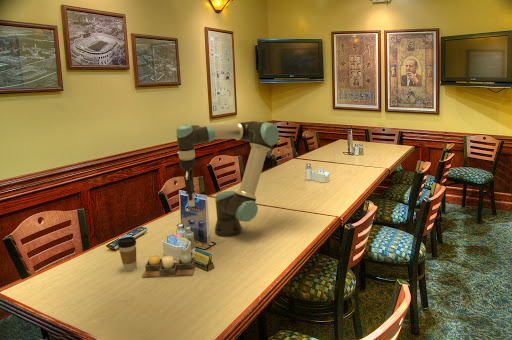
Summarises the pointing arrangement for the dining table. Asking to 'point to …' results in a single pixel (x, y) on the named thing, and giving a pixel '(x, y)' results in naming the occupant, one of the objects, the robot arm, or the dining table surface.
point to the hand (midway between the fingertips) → (191, 205)
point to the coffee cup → (128, 253)
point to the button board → (169, 270)
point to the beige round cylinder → (168, 262)
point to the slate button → (186, 259)
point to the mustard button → (154, 260)
